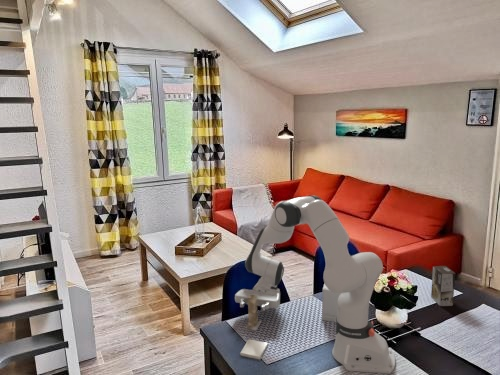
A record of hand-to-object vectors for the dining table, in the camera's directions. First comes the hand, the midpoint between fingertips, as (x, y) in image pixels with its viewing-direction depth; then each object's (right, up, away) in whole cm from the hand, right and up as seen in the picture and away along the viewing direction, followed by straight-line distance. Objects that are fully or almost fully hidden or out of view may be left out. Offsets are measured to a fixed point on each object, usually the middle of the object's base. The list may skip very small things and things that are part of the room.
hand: (252, 307), depth 161 cm
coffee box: (+90, -3, +18) cm, 92 cm away
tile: (+2, -11, -10) cm, 15 cm away
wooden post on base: (+1, -9, +3) cm, 9 cm away
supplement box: (+36, -7, +8) cm, 38 cm away
